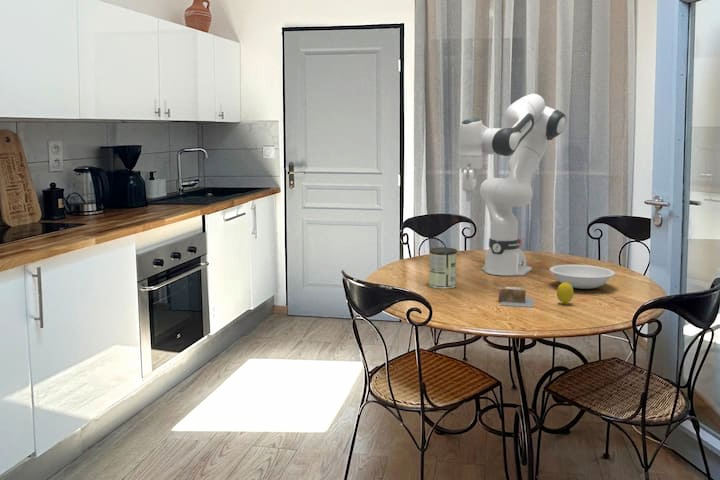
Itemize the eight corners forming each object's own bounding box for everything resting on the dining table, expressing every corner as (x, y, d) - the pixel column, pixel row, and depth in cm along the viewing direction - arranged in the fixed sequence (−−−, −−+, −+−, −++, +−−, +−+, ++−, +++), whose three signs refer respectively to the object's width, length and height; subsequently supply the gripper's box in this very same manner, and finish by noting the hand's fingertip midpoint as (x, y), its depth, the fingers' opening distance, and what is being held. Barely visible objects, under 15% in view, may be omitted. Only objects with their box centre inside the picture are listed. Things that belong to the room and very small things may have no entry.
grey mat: (500, 305, 259) (500, 304, 259) (501, 296, 272) (501, 295, 272) (533, 307, 257) (533, 306, 256) (533, 297, 270) (533, 297, 270)
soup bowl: (613, 297, 272) (614, 279, 271) (545, 291, 280) (546, 274, 279) (615, 283, 294) (616, 267, 293) (552, 278, 303) (553, 262, 301)
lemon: (554, 302, 264) (555, 280, 262) (569, 302, 264) (570, 279, 263) (559, 306, 258) (560, 283, 257) (575, 306, 259) (576, 283, 257)
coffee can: (432, 282, 295) (433, 246, 293) (458, 284, 292) (459, 248, 289) (425, 287, 285) (426, 250, 283) (452, 289, 282) (453, 252, 280)
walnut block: (499, 288, 263) (525, 290, 261) (499, 286, 267) (525, 287, 265) (498, 301, 264) (525, 303, 262) (499, 298, 268) (525, 300, 266)
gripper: (476, 165, 265) (475, 204, 267) (480, 162, 284) (479, 198, 287) (458, 165, 266) (457, 204, 268) (463, 162, 286) (462, 198, 288)
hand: (469, 201), depth 278 cm, fingers closed
